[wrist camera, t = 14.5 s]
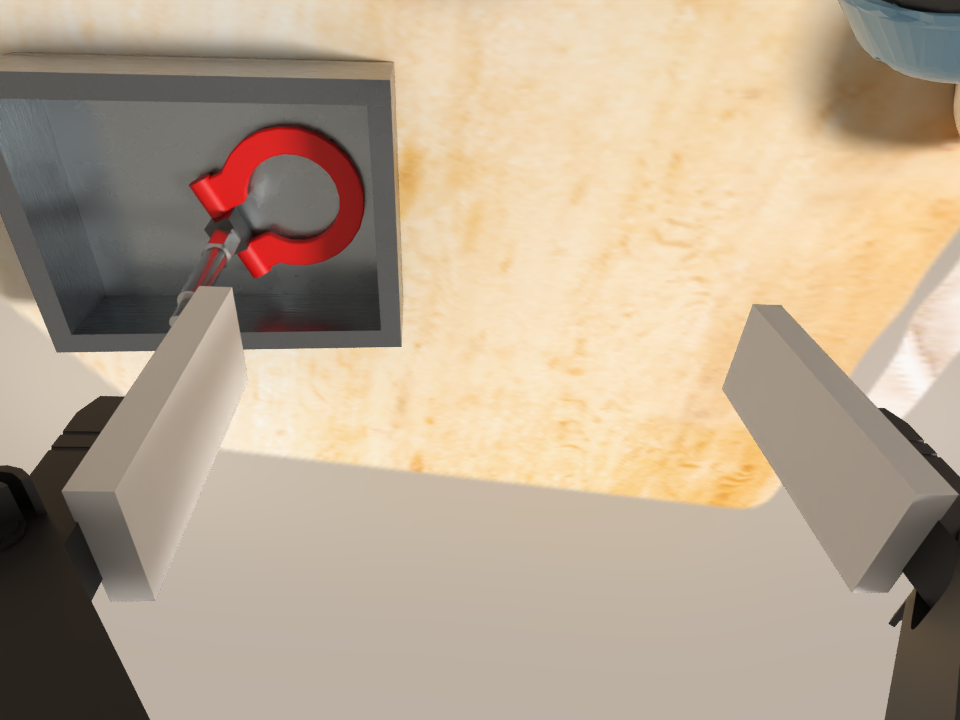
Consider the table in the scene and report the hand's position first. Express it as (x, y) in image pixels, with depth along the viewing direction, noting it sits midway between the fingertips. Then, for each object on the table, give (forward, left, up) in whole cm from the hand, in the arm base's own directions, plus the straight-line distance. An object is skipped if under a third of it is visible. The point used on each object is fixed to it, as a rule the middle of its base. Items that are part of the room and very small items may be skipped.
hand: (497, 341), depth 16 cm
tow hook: (+5, -10, -25) cm, 27 cm away
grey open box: (+5, -13, -26) cm, 29 cm away
